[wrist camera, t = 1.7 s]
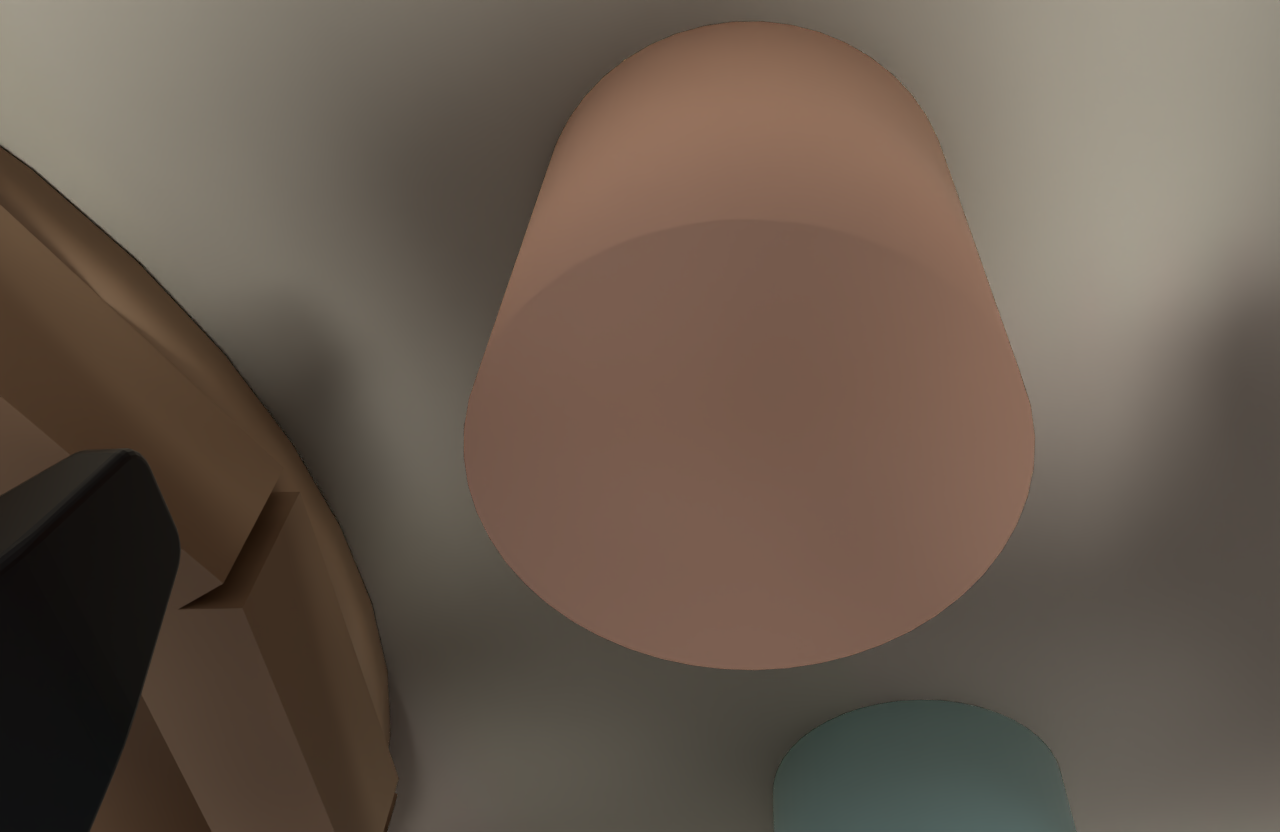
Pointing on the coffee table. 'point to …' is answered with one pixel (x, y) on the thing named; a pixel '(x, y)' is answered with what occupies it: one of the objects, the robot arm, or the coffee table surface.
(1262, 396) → the coffee table surface
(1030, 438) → the bead terracotta
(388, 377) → the coffee table surface
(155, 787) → the ring tray
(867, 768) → the bead teal
